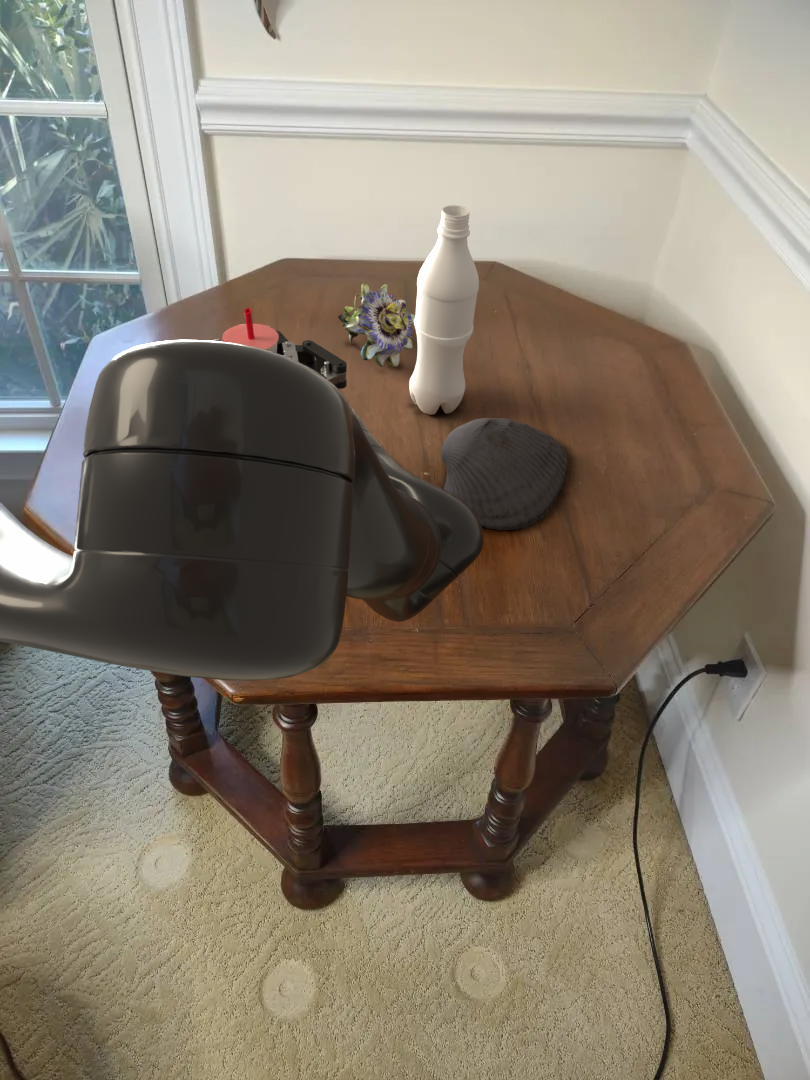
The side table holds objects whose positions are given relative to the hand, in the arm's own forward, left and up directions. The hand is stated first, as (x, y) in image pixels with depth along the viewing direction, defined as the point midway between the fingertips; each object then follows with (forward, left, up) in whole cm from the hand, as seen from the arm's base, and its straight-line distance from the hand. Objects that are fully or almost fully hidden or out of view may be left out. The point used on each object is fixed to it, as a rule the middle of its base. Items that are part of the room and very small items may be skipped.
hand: (241, 341), depth 77 cm
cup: (+1, -3, -7) cm, 8 cm away
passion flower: (+18, +23, -17) cm, 34 cm away
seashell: (+29, -5, -17) cm, 34 cm away
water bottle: (+24, +10, -17) cm, 31 cm away
